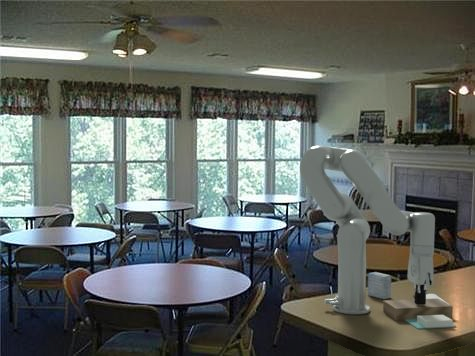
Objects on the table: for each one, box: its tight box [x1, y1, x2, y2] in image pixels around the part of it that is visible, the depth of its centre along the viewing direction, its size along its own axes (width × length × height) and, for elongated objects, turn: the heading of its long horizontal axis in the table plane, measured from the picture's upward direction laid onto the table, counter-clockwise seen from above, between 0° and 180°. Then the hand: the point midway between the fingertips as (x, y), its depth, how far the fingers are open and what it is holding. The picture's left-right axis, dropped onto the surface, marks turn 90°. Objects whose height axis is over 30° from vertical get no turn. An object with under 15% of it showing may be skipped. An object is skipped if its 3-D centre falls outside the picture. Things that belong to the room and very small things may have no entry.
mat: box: [404, 319, 457, 330], centre depth 182 cm, size 13×9×1 cm
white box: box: [417, 315, 454, 329], centre depth 181 cm, size 9×6×2 cm, turn 99°
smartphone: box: [412, 293, 451, 305], centre depth 209 cm, size 9×2×16 cm
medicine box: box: [367, 271, 392, 300], centre depth 216 cm, size 8×4×9 cm, turn 34°
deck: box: [382, 298, 454, 321], centre depth 192 cm, size 20×10×4 cm, turn 99°
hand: (420, 303), depth 189 cm, fingers closed
